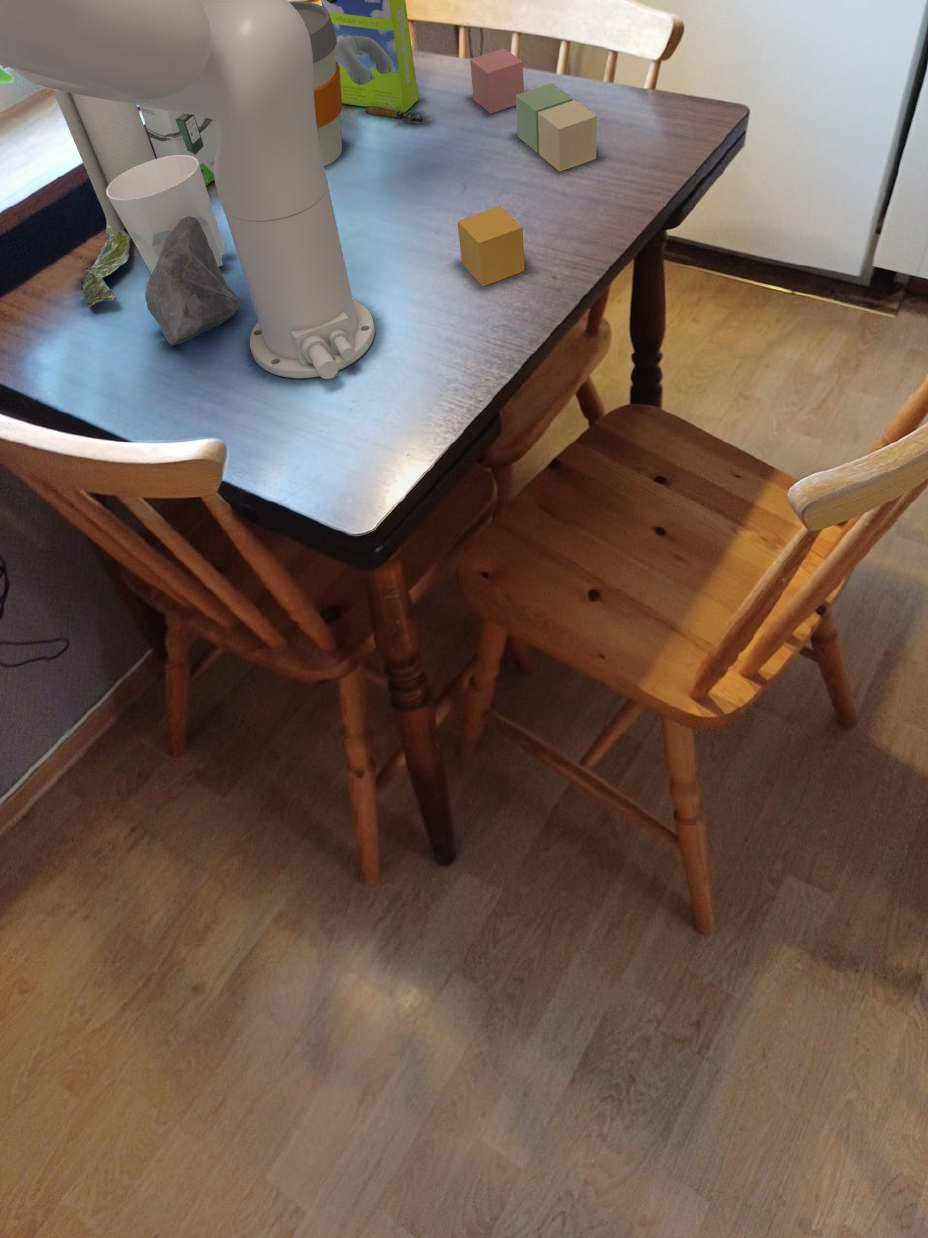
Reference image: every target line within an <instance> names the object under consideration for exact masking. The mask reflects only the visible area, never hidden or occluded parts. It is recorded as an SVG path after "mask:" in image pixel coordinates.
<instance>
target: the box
mask: <svg viewBox="0 0 928 1238" xmlns="http://www.w3.org/2000/svg"><path fill="white" fill-rule="evenodd" d="M320 2H321V6H323V7H324V8H326V9H327V10H328V12H329V14H330V17H331V21H332V24H333V28H334V31H335V35H336V38H337V44H336V47H335V59H336V62H337V63H338V65H339V67H340V81H341V95H342V105H349V106H357V107H365V108H366V107H367V106H375V107H381V108H384V109H388V110H394V111H400V112H402V113H403V114H404V113H405V114H406V113H407V112H408V111H409V110H410V109H411V108H412V107H413V106H414V105H415V104H416V103H417V102H418V101H419V92H418V84H417V77H416V71H415V64H414V62H415V61H414V55H413V48H412V39H411V32H410V25H409V18H408V9H407V2H406V0H337V2H336V3H333V4H330V3H329V2H328V1H326V0H320Z"/></svg>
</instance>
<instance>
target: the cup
mask: <svg viewBox="0 0 928 1238" xmlns="http://www.w3.org/2000/svg"><path fill="white" fill-rule="evenodd" d="M106 194H107V196H108V198H109V200H110V202H111V203H112V205H113V207H114V208H115V210H116V212H117V214H118V215H119V217H120V219H121V221H122V222H123V224H124V226H125V230H126V232H127V234H128V235H130V236H131V237H130V239H132V241H133V243H134V245H135V247H136V249H137V250H138V252H139V255H141V258H142V259H143V261H144V263H145V265H146V267H147V268H148V270H149V272H150V275H151V274H152V272H153V270H154V268H155V267H156V264H157V261H158V258H159V255H160V253H161V250H162V248H163V245H164V243H165V241H166V239H167V237H168V236H169V234H170V233H171V231H172V230H173V229H174V228H175V226H176V225H177V224H178V223H179V222H180V220H181V219H183V218H185V217H189V216H190V217H194V218H196V219H197V220H198V221H199V223H200V225H201V227H202V229H203V231H204V233H205V235H206V238H207V241H208V244H209V247H210V248H211V250H212V252H213V254H214V257H215V260H216V263H217V265H218V267H219V268H220V267H221V266H224V263H223V259H222V258H223V256H224V254H225V253H226V252H227V249H226V245H225V242H224V240H223V237H222V234H221V231H220V228H219V225H218V221H217V218H216V214H215V212H214V209H213V206H212V202H211V200H210V196H209V193H208V189H207V185H205V182H204V179H203V175H202V172H201V169H200V165H199V162H198V160H197V159H196V158H194V157H193V156H187V155H174V156H167V157H162V158H158V159H157V158H156V159H154V160H151V161H148V162H145V163H142V164H140V165H138V166H136V167H133V168H131V169H129V170H128V171H126V172H124V173H122V174H121V175H119V176H118V177H117V178H115V179H114V180H113V181H112V182H111V183H110V184H109V185H108V187H107V189H106Z"/></svg>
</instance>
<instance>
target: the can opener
mask: <svg viewBox="0 0 928 1238" xmlns="http://www.w3.org/2000/svg"><path fill="white" fill-rule="evenodd" d="M364 112H365V114H366V115H370V116H375V117H382V118H390V119H396V120H401V119H402V122H403V124H405V125H409V126H419V125H422V124H424V122H423V120H424V119H423V116H422V115H421V114H416V112H415V111H409V112H406V113H405V114H404V113H403V112H400V111H394V110H388V109H384V108H381V107H375V106H367V107H365V109H364ZM418 119H419V121H417V120H418Z"/></svg>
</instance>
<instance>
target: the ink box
mask: <svg viewBox="0 0 928 1238" xmlns="http://www.w3.org/2000/svg"><path fill="white" fill-rule="evenodd" d="M138 106H139V107H138V108H139V110H140V113H141V117H142V118H143V121H144V124H145V127H146V131H147V134H148V135H149V136H148V137H149V138H150V139H149V140H150V143H151V145H152V147H153V151H154V154H155V157H156V159H158V158H162V157H167V156H174V155H187V156H193V157H194V158H196V159H197V160H198V162H199V165H200V169H201V172H202V175H203V179H204V182H205V185H206V186H208V185H209V184H211V183H213V181H214V182H215V178H214V161H215V157H216V153H217V150H218V146H219V142H220V134H221V132H220V127H219V125H218V123H217V122H216V121H214V120H212V119H208V118H204V117H200V116H197V115H191V114H186V113H180V112H174V111H168V110H162V109H157V108H151V107H145V106H140V105H138Z"/></svg>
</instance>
